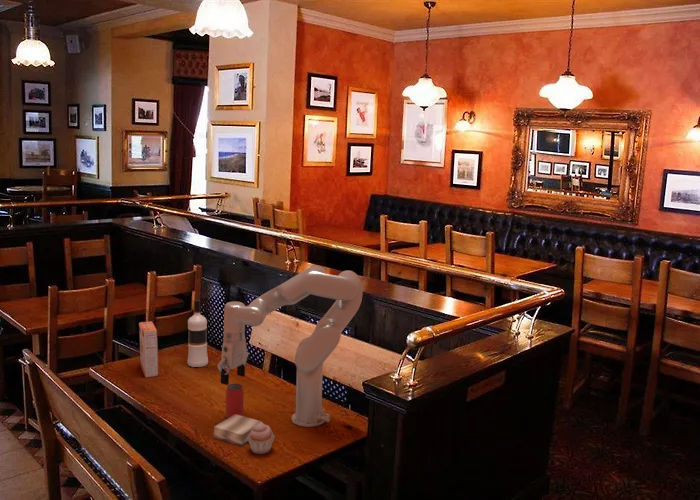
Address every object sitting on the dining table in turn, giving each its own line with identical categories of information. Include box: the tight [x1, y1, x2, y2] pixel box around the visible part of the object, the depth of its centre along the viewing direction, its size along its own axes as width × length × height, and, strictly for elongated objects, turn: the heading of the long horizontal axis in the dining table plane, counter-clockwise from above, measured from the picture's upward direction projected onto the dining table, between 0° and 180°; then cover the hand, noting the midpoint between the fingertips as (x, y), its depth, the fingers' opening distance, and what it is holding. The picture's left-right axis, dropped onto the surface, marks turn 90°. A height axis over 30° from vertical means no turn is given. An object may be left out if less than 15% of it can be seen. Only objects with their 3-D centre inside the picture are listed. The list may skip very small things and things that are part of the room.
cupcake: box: [247, 421, 275, 455], centre depth 220 cm, size 9×9×10 cm
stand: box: [212, 414, 263, 447], centre depth 231 cm, size 12×12×4 cm
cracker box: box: [138, 321, 159, 379], centre depth 285 cm, size 14×6×21 cm, turn 25°
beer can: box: [225, 383, 245, 419], centre depth 245 cm, size 7×7×12 cm
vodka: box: [186, 299, 209, 368], centre depth 294 cm, size 9×9×30 cm
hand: (232, 379), depth 243 cm, fingers open, 9 cm apart
